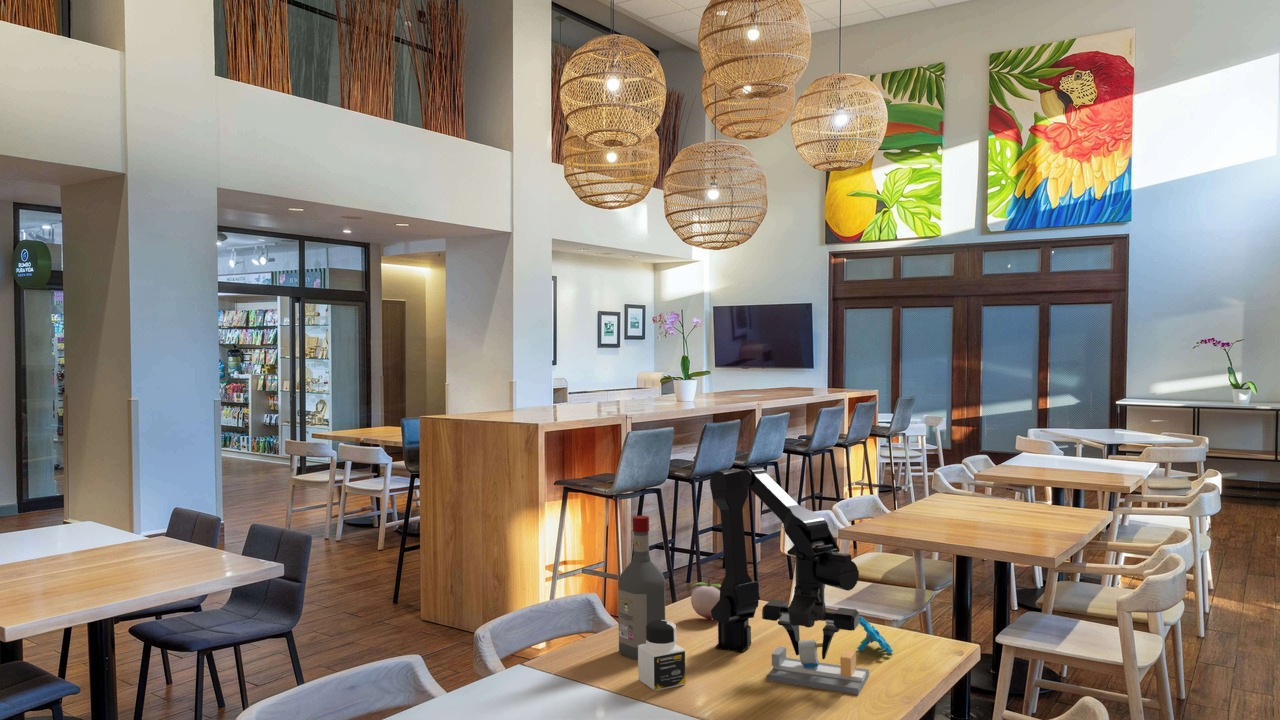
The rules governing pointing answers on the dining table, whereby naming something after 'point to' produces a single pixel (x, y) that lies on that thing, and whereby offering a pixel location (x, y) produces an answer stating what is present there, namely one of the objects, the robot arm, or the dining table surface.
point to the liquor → (639, 593)
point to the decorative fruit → (705, 598)
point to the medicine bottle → (661, 657)
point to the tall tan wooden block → (848, 663)
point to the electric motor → (808, 652)
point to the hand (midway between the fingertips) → (810, 656)
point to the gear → (872, 636)
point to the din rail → (815, 674)
